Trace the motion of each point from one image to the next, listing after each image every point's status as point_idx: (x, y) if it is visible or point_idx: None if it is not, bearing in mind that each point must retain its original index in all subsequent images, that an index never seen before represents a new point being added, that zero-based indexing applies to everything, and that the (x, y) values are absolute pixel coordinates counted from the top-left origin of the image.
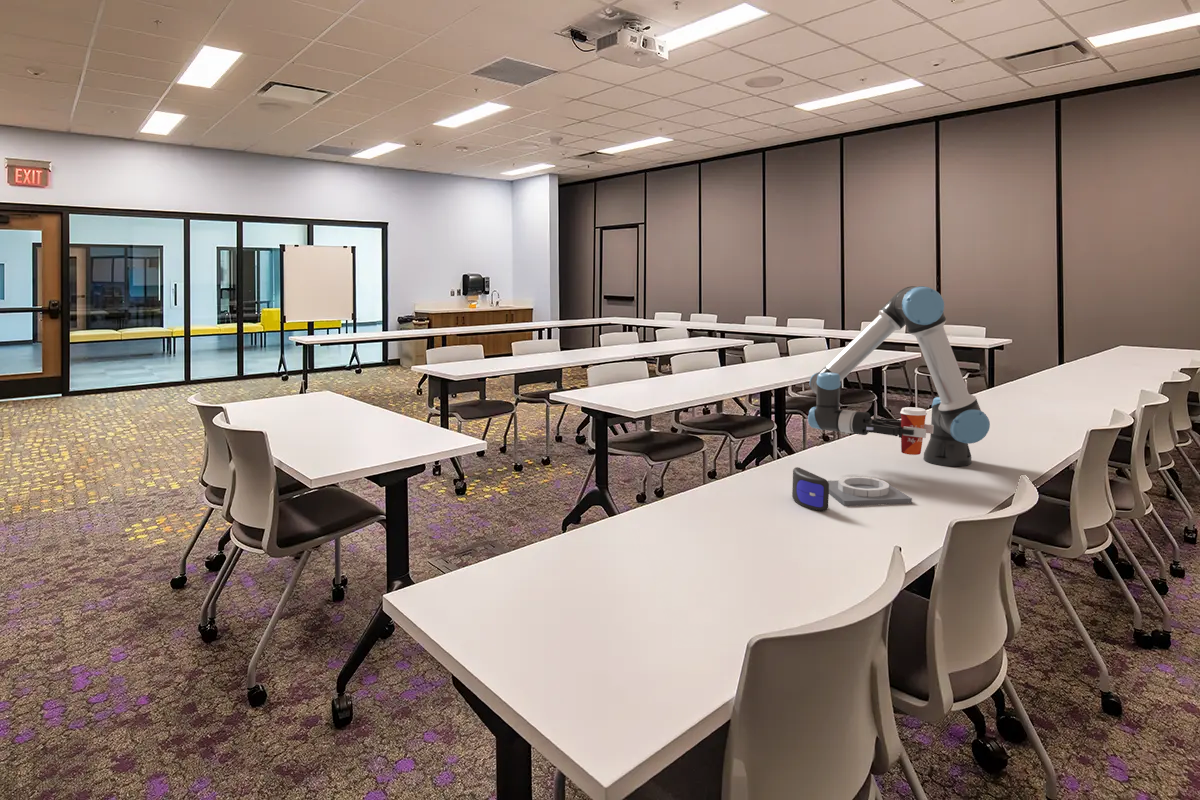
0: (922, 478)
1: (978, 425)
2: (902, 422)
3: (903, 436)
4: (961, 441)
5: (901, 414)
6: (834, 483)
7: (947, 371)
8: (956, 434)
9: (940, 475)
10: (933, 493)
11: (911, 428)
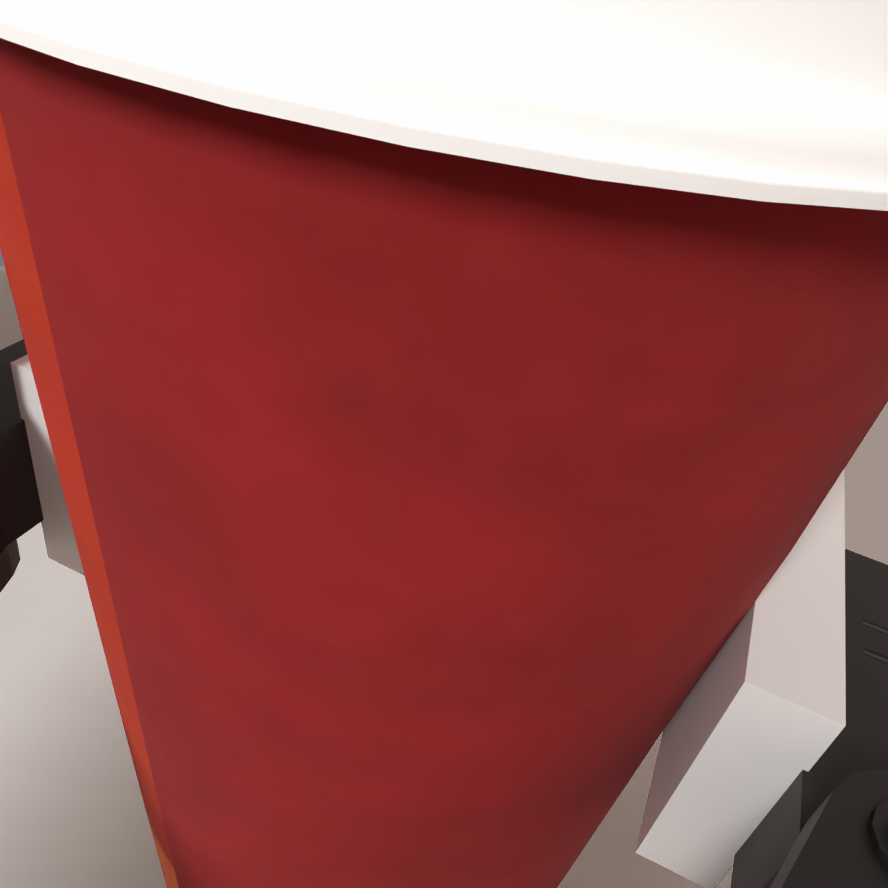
0: (92, 842)
1: None
2: (643, 627)
3: (540, 878)
4: (2, 264)
5: (665, 283)
6: None
7: None
8: None
9: (3, 652)
10: (632, 847)
11: (834, 552)
